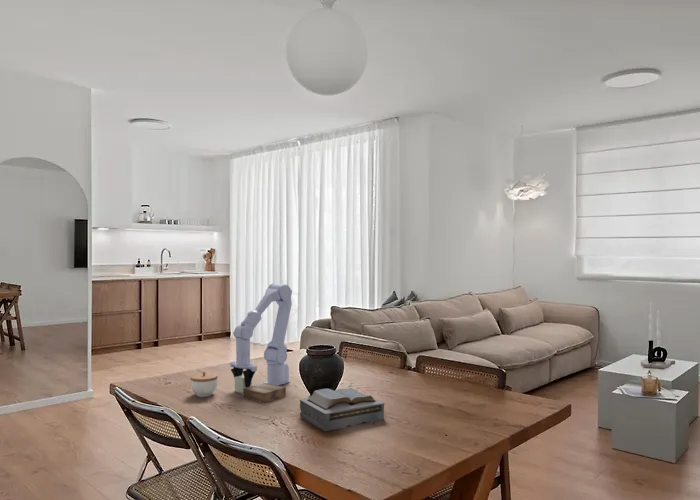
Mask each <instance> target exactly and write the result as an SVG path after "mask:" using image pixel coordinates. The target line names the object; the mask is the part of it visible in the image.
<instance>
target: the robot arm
mask: <svg viewBox="0 0 700 500" xmlns="http://www.w3.org/2000/svg"><path fill="white" fill-rule="evenodd" d="M292 293H293V289H292V288H291V287H290V286H289V285H288V284H280V283H279V284H278V283H271V284H269V285H268V287H267V288H266V289H265V292H264V295H263V297H262V298H261V300H260V301H259V303H258V304H257V306H256V308H255V309H254V310H251V311H248V312H247V314H246V316H245V318H244V319H243V321H241V322H240V324H238V325H237V326H236V327H235V328H234V331H233V332H232V333H233V334H232V335H233V337H234V338H235V346H236V349H235V352H236V353H235V355H236V356H235V357H236V358H235V361H230V362H229V367H230V368H231V369H230V371H231V373H232V375H233V378H234V379H235V377H236V376H240V375H244V379H245V387H246V388H247V387H250V385H251V381H252V380H253V377H254V375H255V374H256V371H257V370H258V366H257V365H255V364H252V363H251V338H253V335H254V330H255V328H256V327H257V325H258V324H259V323H260V321H261V320H262V315H263V313H264V312H265V311H266V309H268V307H269V306H270V305H271V304H272V303H273V302H276V304H277V306H278V307H277V309H278V310H277V312H276V313H277V314H276V318H275V322H274V328H273V333H272V337H271V340H270V342H268V343H267V345H266V348H265V349H264V352H263V358H264V359H265V361H266V363H267V364H266V365H267V367H266V370H267V371H266V375H267V377H266V381H263V382H262V384H263V383H268V384H273V385H278V386H281V385H285V384H289V383H291V380H290V374H289V373H290V368H289V367H290V366H289V364H288V363H287V362H286V361H287V359H288V353H287V351H288V347H287V345H286V343H285V339H286V334H287V329H288V323H289V319H290V315H291V309H292V303H293V301H292ZM252 382H253V381H252Z"/></svg>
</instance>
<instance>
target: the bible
mask: <svg viewBox="0 0 700 500" xmlns="http://www.w3.org/2000/svg"><path fill="white" fill-rule="evenodd" d="M299 410H300V414H299V417H301V418H302V419H303V420H305V421H307V422H309V423H310V424H311V425H313V426H315V427H317V428H318V429H321V430H322V431H324V432H328V431H333V430H337V429H344V428H347V427H348V426H350V427H353V426H358V425H361V424H362V423H373V422H377V421H382V420H385V403H384V402H383V401H382V400H381V401H380V400H378V399H376V398H374V397H373V396H372V395H371V394H366V393H362V392H360V391H358V390H356V389H354V388H353V387H347V388H337V389H335V390H333V389H331V388H321V389H317V390H314V391H313V393H312V395H311V396H309V397H305V398H301V399H299Z"/></svg>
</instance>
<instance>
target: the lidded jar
mask: <svg viewBox="0 0 700 500" xmlns="http://www.w3.org/2000/svg"><path fill="white" fill-rule="evenodd" d="M190 386H191V387H190V388H191V390H192V392H193V393H194V394H195V395H196V397H198V398H199V397H200V398H203V397H204V398H206V397H210V396H212V395H213V393H214V392H215V391H216V389H217V386H218V374H216V373H212V372H206V371H202V373H196V374H192V375H191V376H190Z"/></svg>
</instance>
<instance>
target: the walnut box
mask: <svg viewBox="0 0 700 500" xmlns="http://www.w3.org/2000/svg"><path fill="white" fill-rule="evenodd" d="M242 394H243V396H242V397H243V398H244V399H248V400H252V401H255V402H256V401H257V402H258V403H259V402H260V403H268V402H270V401H274V400H278V399H280V398H284V397H286V396H287V387H286V386H281V385H273V384H268V383H263V382H262V383H260V384H259V383H258V384H256V385H252V387H248V388H244V389H243V393H242Z"/></svg>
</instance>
